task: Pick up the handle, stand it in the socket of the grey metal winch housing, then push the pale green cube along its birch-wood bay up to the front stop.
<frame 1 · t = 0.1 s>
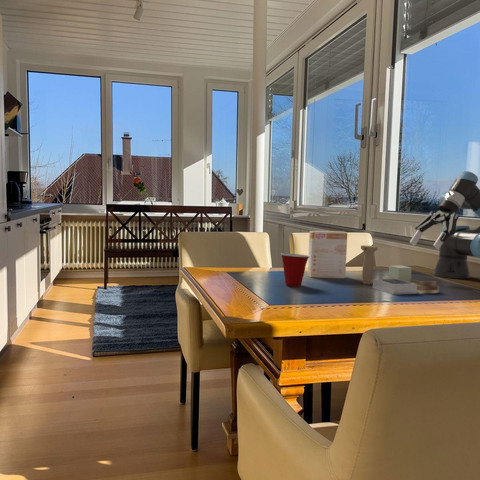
hand: (423, 245, 183), 15 cm above the table, tool tilted 35°, fingers open, 13 cm apart
coffeecake box: (326, 277, 191), on the table
winch housing: (394, 290, 165), on the table
handle: (366, 284, 177), on the table
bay: (409, 287, 173), on the table
plastic cup: (293, 285, 169), on the table
pale green cube: (399, 274, 178), point 4 cm above the table, slide at 0.0 cm
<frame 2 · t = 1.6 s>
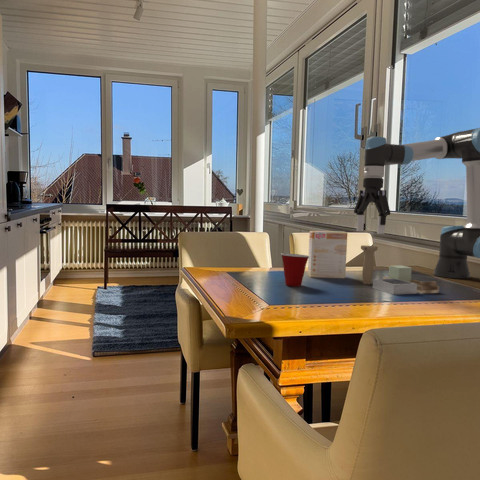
hand: (369, 232, 175), 20 cm above the table, tool pointing down, fingers open, 13 cm apart
nothing on the table moved.
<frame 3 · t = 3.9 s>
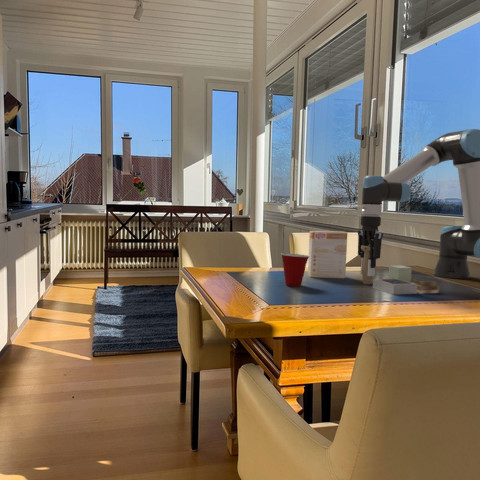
hand: (367, 274, 177), 4 cm above the table, tool pointing down, fingers closed on handle, 4 cm apart
handle: (366, 284, 177), on the table, touching gripper
everything else where it was.
when the fingers open (5 cm above the table, at t = 9.5 s): handle drops 1 cm, resting in winch housing.
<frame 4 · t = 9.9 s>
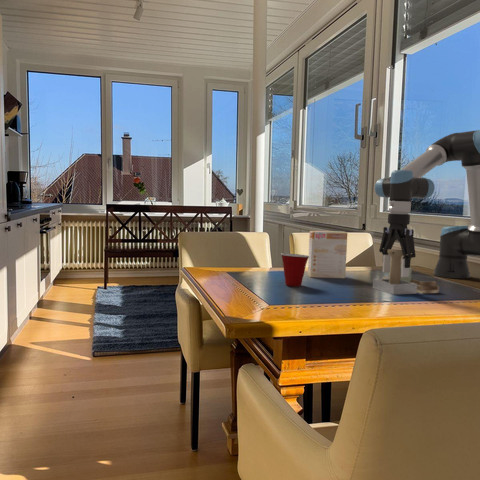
hand: (395, 274, 164), 6 cm above the table, tool pointing down, fingers open, 10 cm apart
handle: (394, 291, 165), resting in winch housing
everything else where it was.
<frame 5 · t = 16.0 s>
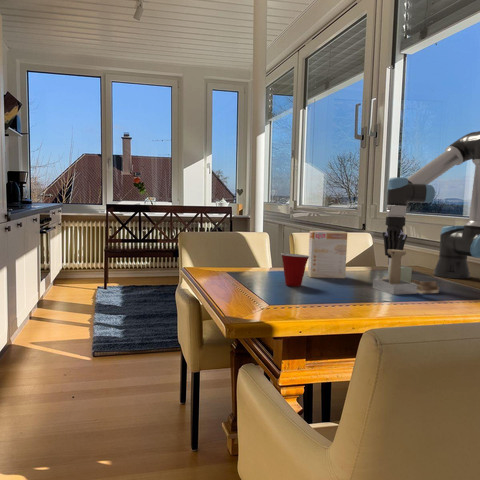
hand: (391, 274, 183), 3 cm above the table, tool pointing down, fingers closed
pale green cube: (400, 274, 178), point 4 cm above the table, slide at 0.2 cm, touching gripper
everything else where it was.
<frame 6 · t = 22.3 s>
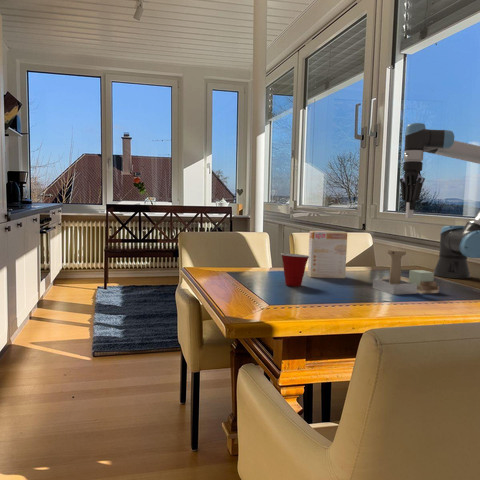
hand: (409, 217, 189), 26 cm above the table, tool pointing down, fingers closed
pale green cube: (421, 279, 167), point 4 cm above the table, slide at 12.0 cm
everything else where it was.
at the end: handle 0.0 cm off-centre on the winch housing, point 0.0 cm above the winch housing's base; pale green cube slide at 12.0 cm; handle tilted 0° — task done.
